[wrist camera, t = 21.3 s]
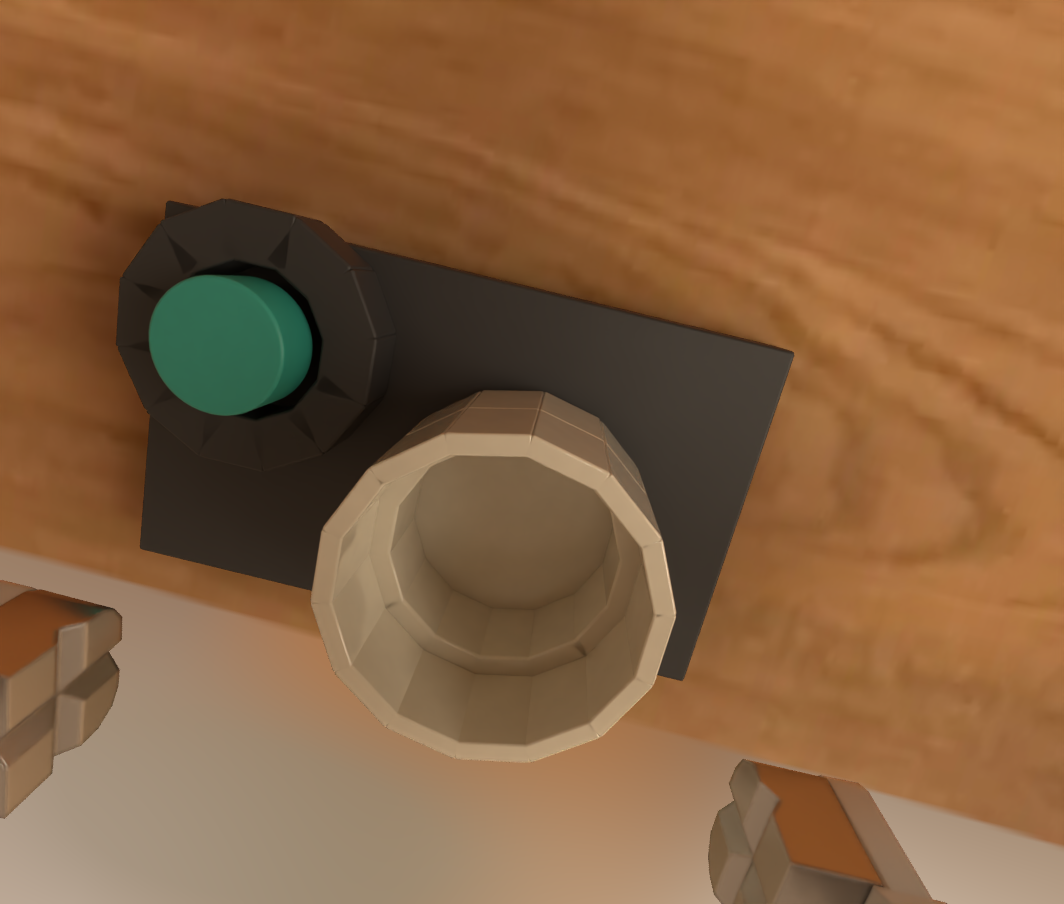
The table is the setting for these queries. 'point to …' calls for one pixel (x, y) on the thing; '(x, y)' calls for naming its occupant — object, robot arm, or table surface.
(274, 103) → the table surface
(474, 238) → the table surface
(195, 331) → the button
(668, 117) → the table surface
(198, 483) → the scale
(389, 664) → the beige cup
